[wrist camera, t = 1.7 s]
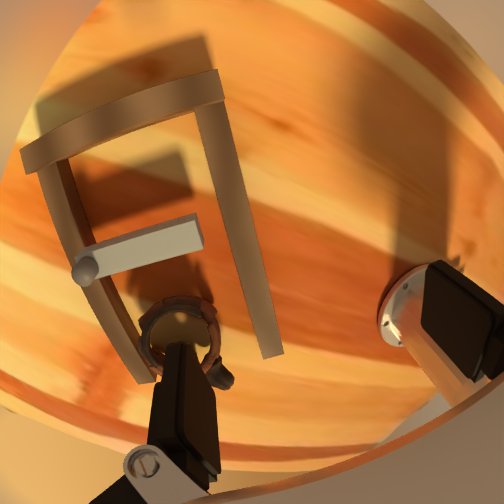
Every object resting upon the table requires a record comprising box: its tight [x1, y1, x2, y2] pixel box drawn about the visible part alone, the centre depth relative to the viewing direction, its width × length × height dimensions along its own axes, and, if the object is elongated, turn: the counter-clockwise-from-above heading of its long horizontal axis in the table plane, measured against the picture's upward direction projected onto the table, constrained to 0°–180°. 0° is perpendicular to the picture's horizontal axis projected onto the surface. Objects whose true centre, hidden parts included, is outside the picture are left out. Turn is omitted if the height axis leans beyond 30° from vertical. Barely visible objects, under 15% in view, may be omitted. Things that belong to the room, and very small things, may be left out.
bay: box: [20, 69, 284, 384], centre depth 25 cm, size 18×28×4 cm, turn 13°
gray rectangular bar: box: [71, 213, 204, 287], centre depth 22 cm, size 11×2×4 cm, turn 103°
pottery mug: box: [137, 296, 234, 390], centre depth 29 cm, size 12×10×8 cm
